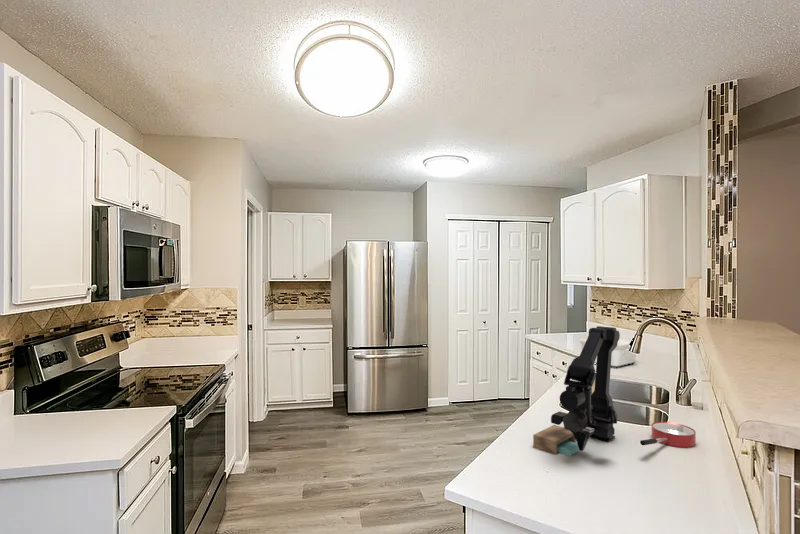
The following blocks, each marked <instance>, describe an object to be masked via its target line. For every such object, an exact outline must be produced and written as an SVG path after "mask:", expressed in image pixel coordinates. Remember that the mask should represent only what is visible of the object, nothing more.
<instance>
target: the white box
mask: <svg viewBox="0 0 800 534" xmlns="http://www.w3.org/2000/svg"><path fill="white" fill-rule="evenodd" d="M587 338H588V337H586V338H580V339H579V340H578V341H579V342H580V344H581V350H582V349H583V347H584V345H585V343H586V340H587ZM630 341H631V339H623V338H619V341H618V344H617V347H616V348H615V349H614V350H613V351H612V356H611V366H612V367H619V368H621V367H620V366H623V367H625V366H624V365H627V366H629V365H628V364H631V365H633V364H632V363H634V364H635V363H636V353H635V354H632V353H630V352H629V343H630ZM594 363H596V364H597V357H596V360H595V362H594ZM596 364H595V365H596ZM612 367H611V368H612Z"/></svg>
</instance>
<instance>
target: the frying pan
mask: <svg viewBox="0 0 800 534" xmlns="http://www.w3.org/2000/svg"><path fill="white" fill-rule="evenodd" d="M696 434H697V433H696V430H695V429H693V428H692V427H690V426H688V425H684V424H680V423H677V422H669V421H655V422H653V423H651V438H647V439H642V440H640V441H639V443H640V445H641V446H649V445H654V444H657V443H659V444H663V445H665V446H669V447H675V448H684V449H685V448H687V449H689V448H693V447H694V446H696V444H697V443H696V442H697V441H696V438H697V437H696Z"/></svg>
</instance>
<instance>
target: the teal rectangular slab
mask: <svg viewBox="0 0 800 534" xmlns="http://www.w3.org/2000/svg"><path fill="white" fill-rule="evenodd" d="M578 451H580V450H579V447H578V444H577V442H576V443H575V442H571V441H568V440H565V441H563V442H561V443H559V444H557V453H559V454H562V455H566V456H572V455H574V454H575V453H577V452H578Z"/></svg>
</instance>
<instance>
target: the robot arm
mask: <svg viewBox="0 0 800 534" xmlns="http://www.w3.org/2000/svg"><path fill="white" fill-rule="evenodd" d="M620 335H621V334H620V331H619V330H617V328H616V327H611V326H599V325H597V326H596V327H590V328H589V329H588V336H587V337H586V338H587V340H586V343H585V345H584V347H583V349H582V348H581V352H580V354H579V356H577V357H576V358H573V359H572V362H571V363H570V364H569V365H568V367H567V371H566V375H565V378H564V382H563V385H565V390H563V391H562V392H561V393H560V396H559V403H560V404H561V406H562V407H563V408H565V409H566V410H569V411H568V412H563V411H558V412H555V413H553V414H552V415H551V417H550V423H551V424H553V425H556V426H560V425H561V424H563V427H564V428H565V429H567V430H570V431H571V432H572V433H573V435H574V437H575V439H576V443H577V444H578V447H579V451H581V452H584V450H585V448H586V445H587V444H588V441H589V440H590V438H593V439H597V440H600V441H604V442H606V443H609V442H611V441H612V440H614V439H615V438H616V436H615V427H614V425H615V424H618V413H617V411H616V409H615V407H614V400H613V399H612V397H611V394H610V383H611V382H610V380H611V369H612V367H611V356H612V351H613V350H614V349H615V348H616V347H617V344H618V341H619V339H621V338H620V337H621V336H620ZM596 357H597V365H596V364H594V362H595V360H596ZM595 366H596V367H595ZM593 385H594V390H593V392H592V388H591V387H593Z"/></svg>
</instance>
